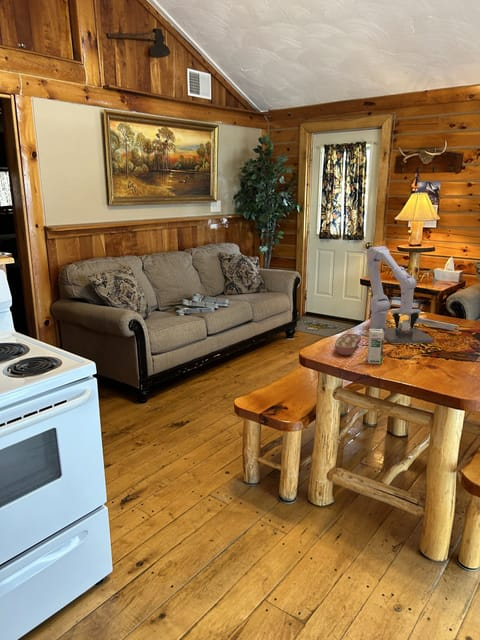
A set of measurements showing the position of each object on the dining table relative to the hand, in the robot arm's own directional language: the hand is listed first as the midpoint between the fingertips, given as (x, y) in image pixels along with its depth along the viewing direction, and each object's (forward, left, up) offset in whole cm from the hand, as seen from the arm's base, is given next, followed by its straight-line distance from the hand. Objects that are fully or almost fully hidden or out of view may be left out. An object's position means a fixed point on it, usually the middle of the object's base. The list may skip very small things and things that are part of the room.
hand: (404, 327), depth 248 cm
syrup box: (+36, -27, -5) cm, 45 cm away
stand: (0, 0, -5) cm, 5 cm away
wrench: (-15, +20, -5) cm, 25 cm away
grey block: (0, 0, -3) cm, 3 cm away
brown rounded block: (+19, -35, -5) cm, 40 cm away
